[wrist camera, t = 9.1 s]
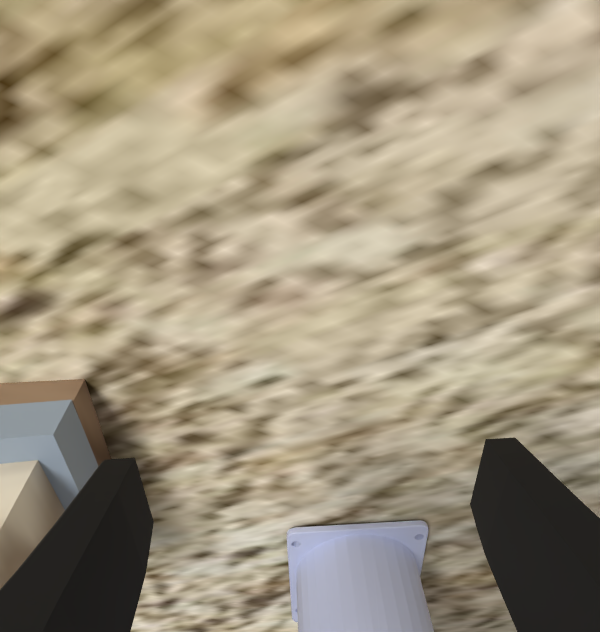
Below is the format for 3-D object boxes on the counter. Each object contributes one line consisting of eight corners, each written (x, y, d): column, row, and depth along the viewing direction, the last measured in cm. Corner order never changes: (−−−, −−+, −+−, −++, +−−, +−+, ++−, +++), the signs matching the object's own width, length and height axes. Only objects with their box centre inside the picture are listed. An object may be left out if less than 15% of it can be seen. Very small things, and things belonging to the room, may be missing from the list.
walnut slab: (122, 476, 26) (111, 509, 24) (-12, 484, 25) (-33, 517, 24) (88, 371, 22) (73, 401, 20) (-69, 379, 22) (-98, 410, 20)
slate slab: (115, 507, 24) (103, 545, 22) (-28, 519, 24) (-51, 557, 22) (71, 399, 20) (52, 434, 19) (-98, 412, 20) (-132, 449, 18)
